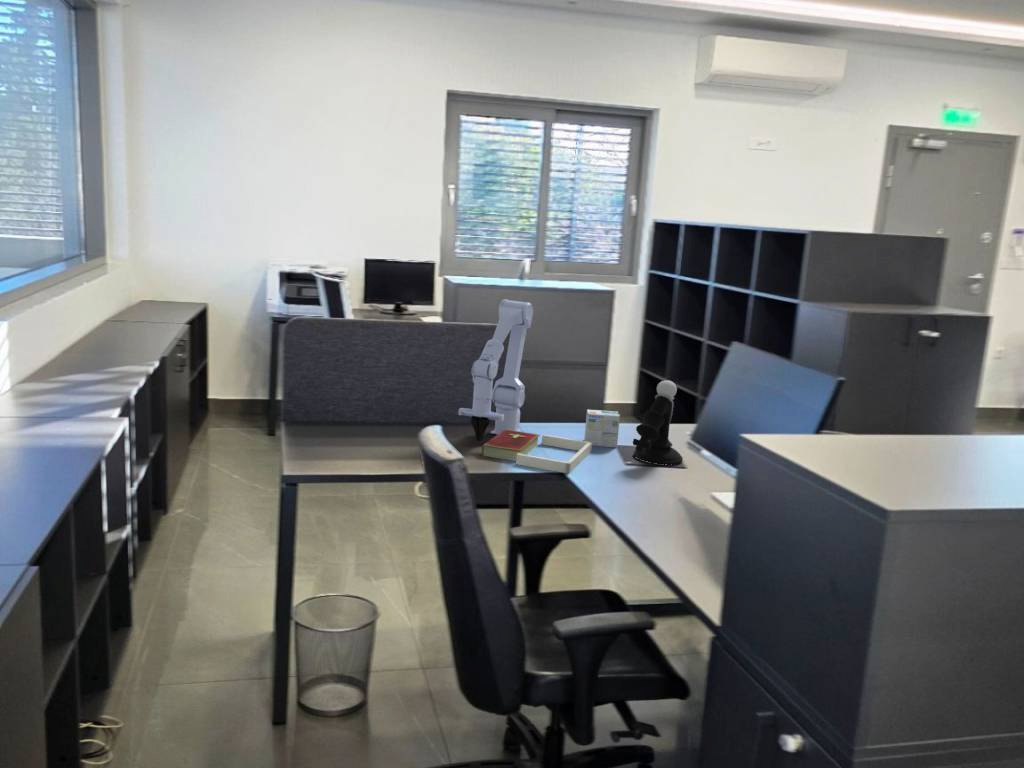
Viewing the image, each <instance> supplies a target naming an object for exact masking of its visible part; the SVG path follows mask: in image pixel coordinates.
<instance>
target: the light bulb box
mask: <svg viewBox="0 0 1024 768" xmlns="http://www.w3.org/2000/svg"><path fill="white" fill-rule="evenodd" d="M585 415H586V417H585V429H584V440H583V441H586V442H592V447H594V446H595V447H605V448H606V447H607V448H618V439H619V429H620V420H621V419H620V417H621V415H620V413H619V411H612V410H601V409H600V410H599V409H586V414H585Z"/></svg>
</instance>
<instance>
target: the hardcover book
mask: <svg viewBox="0 0 1024 768" xmlns="http://www.w3.org/2000/svg"><path fill="white" fill-rule="evenodd" d="M540 436H541V435H540V434H537V433H533V432H532V433H531V432H526V431H525V432H524V431H521V432H519V431H513V430H506V429H505V430H504V431H502V432H501V433H499V434H498V435H497V434H496V435H495V436H494V437H492V438H491V439H489V440H488V441H486V442H485V443H484V444H483V445H482V446H481V456H482V457H491V458H495V459H502V460H508V461H514V462H516V459H517V454H518V453H519V454H524V455H529V454H530V452H531V451H533V450H534V449H535V448H537V446H538V442H539V440H538V439H539V437H540Z"/></svg>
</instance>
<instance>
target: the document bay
mask: <svg viewBox="0 0 1024 768" xmlns="http://www.w3.org/2000/svg"><path fill="white" fill-rule="evenodd" d="M541 436H542V437H541V445H543V446H550V447H556V448H562V449H568V450H573V451H577V452H576V453H575V454H573V456H572V457H571V458H570V459H569V460H567V461H566V460H565V461H563V460H557V459H553V458H552V459H551V458H547V457H540V456H534V455H529V454H527V455H524V454H519V453H518V454H517V459H516V461H515V462H516V463H515V464H516V465H518V466H524V467H530V468H536V469H541V470H547V471H552V472H559V473H564V474H571V472H572V471H574V469H576V467H578V466H579V464H581V463H582V461H584V459H585V458H587V457H588V456H589V455H590V454H591V453H592V450H593V449H592V448H593V446H592V442H586V441H584V440H579V439H575V438H574V439H573V438H568V437H561V436H555V435H549V434H542V435H541Z"/></svg>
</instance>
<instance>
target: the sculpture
mask: <svg viewBox="0 0 1024 768" xmlns="http://www.w3.org/2000/svg"><path fill="white" fill-rule="evenodd" d="M677 391H678V388H677V385H676V383H674V382H673V381H672V380H667V379H666V380H661V381H660V382H658V384H657V386H656V393H657V394H655V396H654V401H653V403H652V405H651V406H650V409H649V410H646V411H645V412H644V414H643V420H642V422H641V423H640V424H639V425H637V426H636V428H635V429H636V433H637V434H638V435H639V436H640V438H639V439H637V438H633V440H632V445H633V446H635V450H634V451H633V457H634V456H635V457H637V458H639V459H641V460H644V461H648V462H651V463H657V464H664V465H665V464H667V465H671V464H672V465H673V466H675V465H674V464H679V465H681V464H682V463H683V460H684V459H683V458H684V457H683V456H682V455H681V453H680V452H679V451H677V450H676V449H675V448H673V443H672V442H671V441H670V439H669V437H670V435H669V434H670V424H671V421H672V420H671V419H672V416H673V413H674V412H673V411H674V409H673V408H674V405H675V404H674V401H673V400H674V399H675V395H677ZM635 457H634V458H635ZM681 462H682V463H681ZM680 463H681V464H680Z"/></svg>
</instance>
